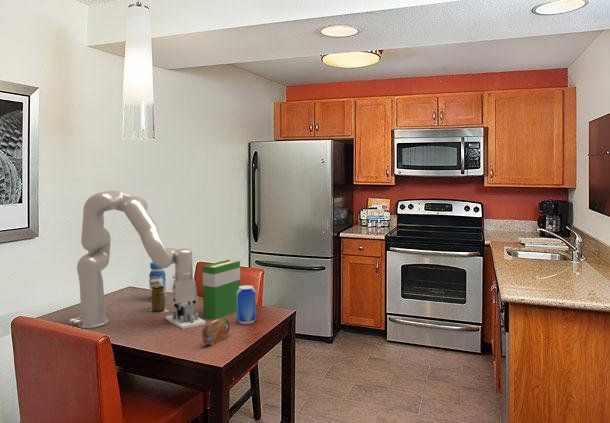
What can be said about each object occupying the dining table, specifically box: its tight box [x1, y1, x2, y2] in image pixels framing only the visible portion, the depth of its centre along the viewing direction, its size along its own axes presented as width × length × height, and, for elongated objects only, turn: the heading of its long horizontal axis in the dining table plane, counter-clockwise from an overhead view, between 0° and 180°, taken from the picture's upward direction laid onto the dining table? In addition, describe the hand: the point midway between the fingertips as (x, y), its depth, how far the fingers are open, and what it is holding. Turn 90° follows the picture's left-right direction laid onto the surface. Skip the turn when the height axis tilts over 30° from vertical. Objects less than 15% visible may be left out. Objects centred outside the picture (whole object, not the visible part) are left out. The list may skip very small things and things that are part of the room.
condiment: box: [148, 285, 170, 314], centre depth 226 cm, size 7×8×12 cm
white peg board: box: [165, 310, 207, 330], centre depth 211 cm, size 11×18×4 cm, turn 39°
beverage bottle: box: [148, 261, 167, 302], centre depth 244 cm, size 8×8×20 cm
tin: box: [201, 317, 230, 346], centre depth 187 cm, size 15×3×8 cm, turn 153°
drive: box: [175, 302, 195, 321], centre depth 211 cm, size 4×10×6 cm, turn 39°
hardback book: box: [202, 259, 241, 320], centre depth 222 cm, size 18×7×24 cm, turn 147°
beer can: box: [236, 284, 257, 325], centre depth 210 cm, size 8×8×16 cm
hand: (184, 315), depth 211 cm, fingers closed on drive, 4 cm apart
